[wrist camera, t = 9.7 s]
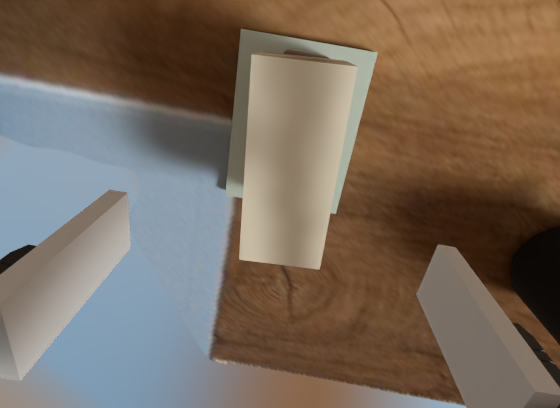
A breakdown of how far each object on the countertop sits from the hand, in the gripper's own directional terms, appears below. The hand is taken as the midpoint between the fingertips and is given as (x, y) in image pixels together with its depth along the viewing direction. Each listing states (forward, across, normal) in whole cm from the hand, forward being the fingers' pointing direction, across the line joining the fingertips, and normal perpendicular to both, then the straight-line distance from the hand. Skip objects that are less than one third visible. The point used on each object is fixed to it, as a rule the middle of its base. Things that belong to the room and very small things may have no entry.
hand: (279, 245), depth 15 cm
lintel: (+14, 0, 0) cm, 14 cm away
